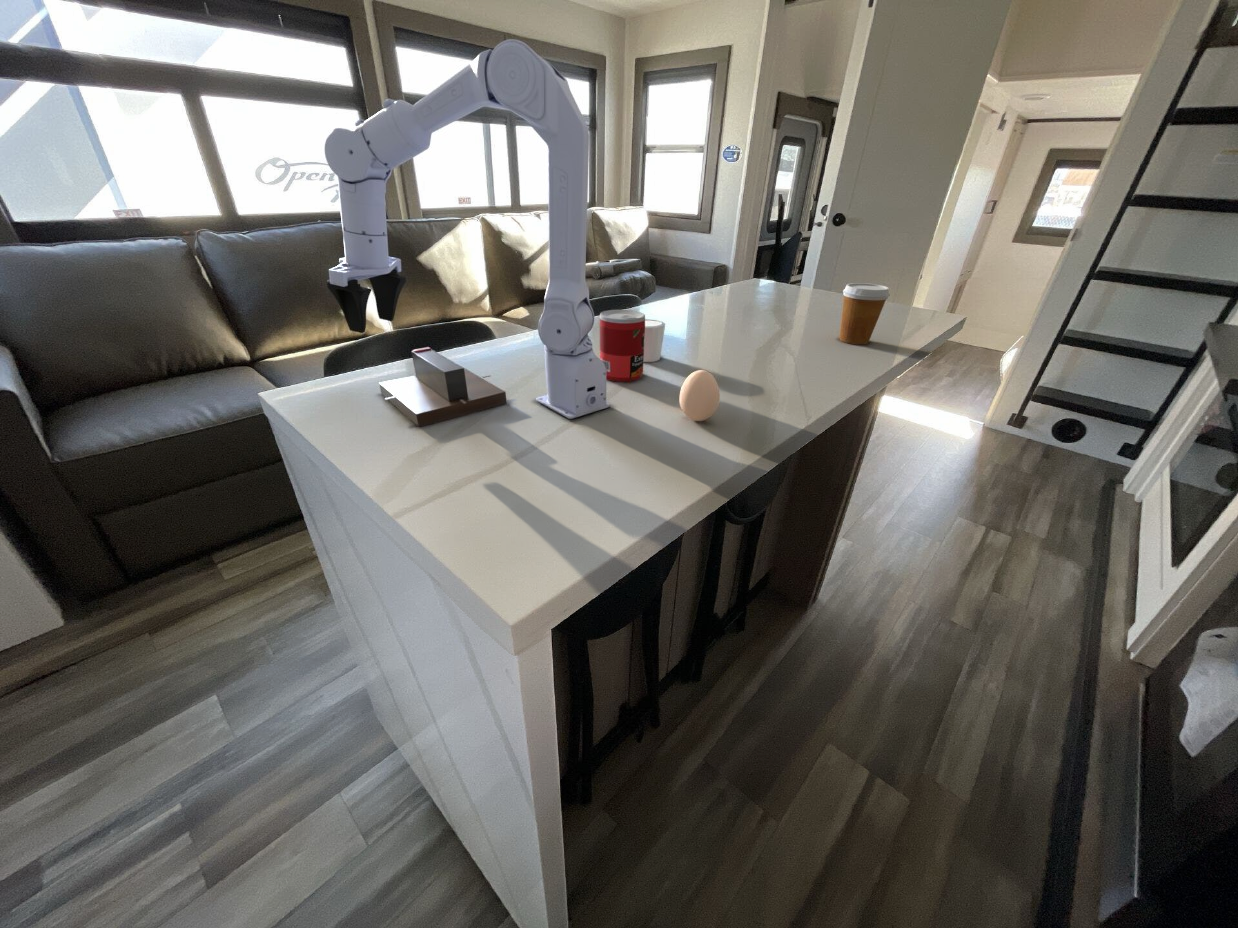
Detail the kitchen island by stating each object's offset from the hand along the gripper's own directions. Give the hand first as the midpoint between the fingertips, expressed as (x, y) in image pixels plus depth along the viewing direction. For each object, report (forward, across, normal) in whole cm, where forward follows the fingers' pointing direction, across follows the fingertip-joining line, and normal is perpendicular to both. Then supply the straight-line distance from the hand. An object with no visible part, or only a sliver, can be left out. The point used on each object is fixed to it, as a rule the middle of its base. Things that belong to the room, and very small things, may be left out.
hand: (372, 325), depth 77 cm
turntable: (+8, +2, +13) cm, 16 cm away
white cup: (+4, -26, +42) cm, 50 cm away
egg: (+2, +2, +53) cm, 53 cm away
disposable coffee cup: (-4, -50, +87) cm, 100 cm away
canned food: (+4, -15, +39) cm, 42 cm away
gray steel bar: (+6, +2, +13) cm, 14 cm away
